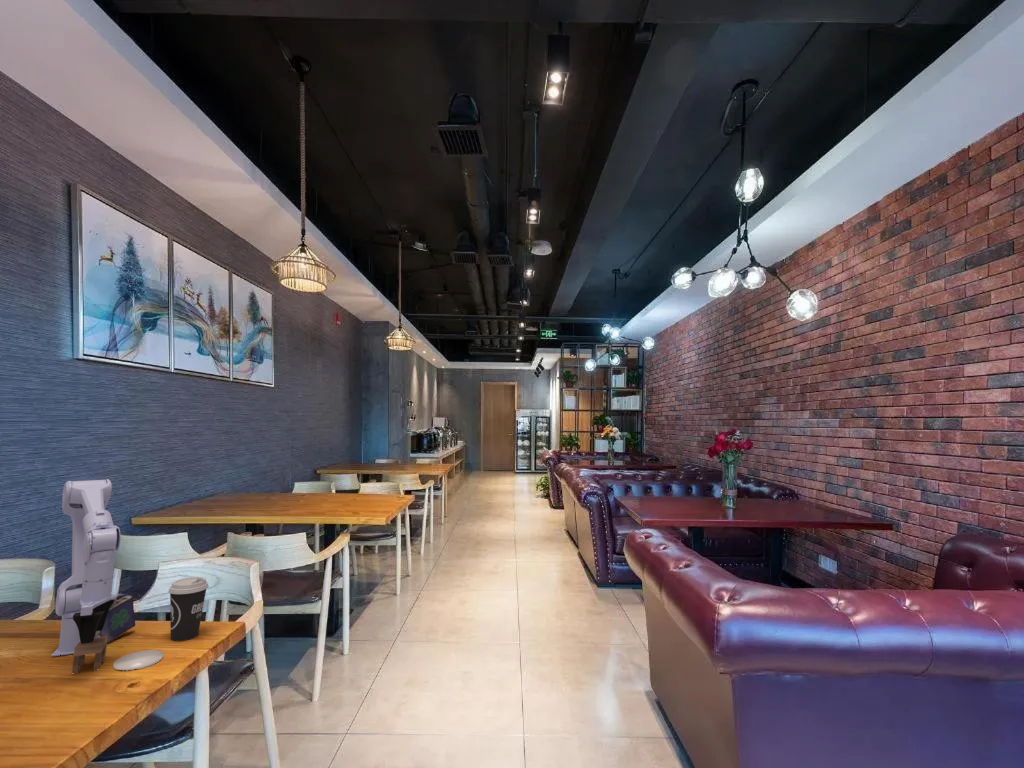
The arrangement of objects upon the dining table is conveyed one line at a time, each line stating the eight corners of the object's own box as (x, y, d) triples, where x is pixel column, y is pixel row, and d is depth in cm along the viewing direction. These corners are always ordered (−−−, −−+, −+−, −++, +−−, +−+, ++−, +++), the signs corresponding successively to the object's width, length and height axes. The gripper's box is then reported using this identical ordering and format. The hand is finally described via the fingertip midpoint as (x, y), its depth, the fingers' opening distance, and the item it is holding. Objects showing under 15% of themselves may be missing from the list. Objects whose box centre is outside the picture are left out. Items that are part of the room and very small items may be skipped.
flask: (105, 645, 130) (100, 608, 129) (96, 644, 131) (91, 607, 129) (138, 624, 139) (134, 589, 137) (130, 623, 140) (125, 588, 138)
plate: (119, 656, 124) (119, 654, 124) (166, 649, 128) (166, 647, 128) (107, 674, 115) (107, 671, 115) (159, 666, 119) (159, 663, 119)
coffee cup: (184, 645, 131) (189, 587, 132) (154, 641, 133) (160, 584, 134) (212, 631, 140) (217, 577, 142) (184, 627, 142) (189, 575, 144)
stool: (78, 665, 119) (81, 639, 119) (104, 661, 121) (107, 635, 122) (71, 674, 114) (74, 647, 115) (98, 670, 117) (101, 643, 117)
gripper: (110, 585, 115) (104, 645, 114) (125, 569, 128) (120, 623, 127) (71, 588, 112) (64, 650, 111) (91, 572, 125) (85, 627, 124)
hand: (92, 636), depth 118 cm, fingers open, 7 cm apart
